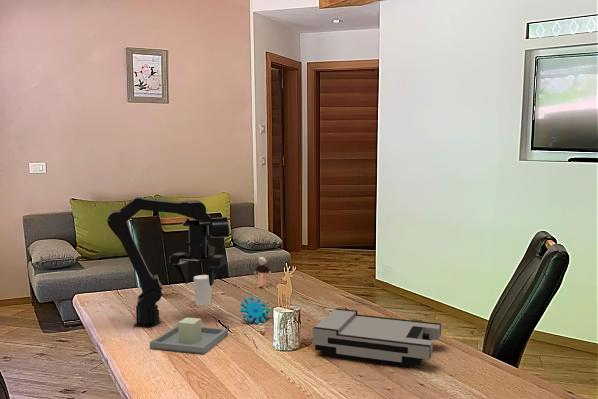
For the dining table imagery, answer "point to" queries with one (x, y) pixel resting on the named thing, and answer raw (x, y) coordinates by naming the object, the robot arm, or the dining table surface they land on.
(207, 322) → the dining table surface
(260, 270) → the grandmother figurine
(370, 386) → the dining table surface
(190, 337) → the sage block
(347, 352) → the game console
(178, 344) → the tray
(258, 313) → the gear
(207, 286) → the drinking glass
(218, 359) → the dining table surface
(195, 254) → the robot arm
